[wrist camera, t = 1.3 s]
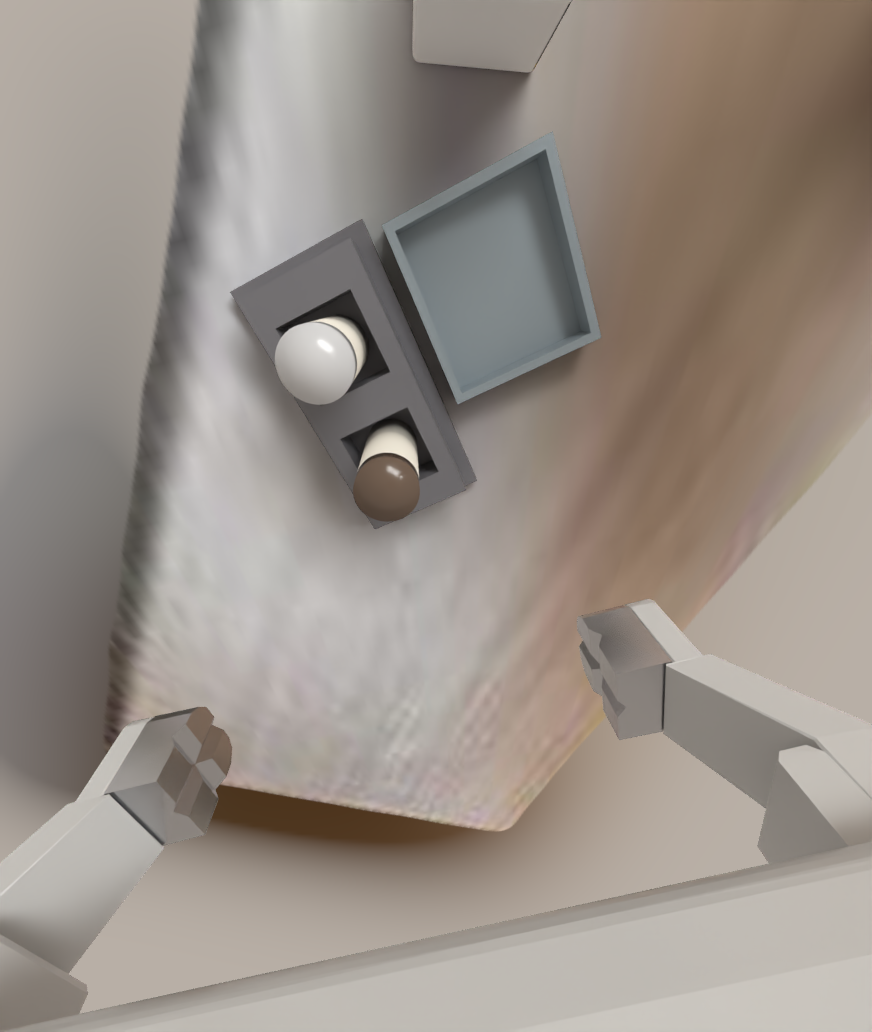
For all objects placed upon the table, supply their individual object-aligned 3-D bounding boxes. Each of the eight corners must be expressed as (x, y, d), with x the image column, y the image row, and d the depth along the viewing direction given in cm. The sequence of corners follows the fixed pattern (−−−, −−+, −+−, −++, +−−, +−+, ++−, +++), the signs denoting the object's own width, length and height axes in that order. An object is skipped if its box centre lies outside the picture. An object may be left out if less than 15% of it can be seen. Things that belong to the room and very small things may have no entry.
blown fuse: (403, 410, 32) (401, 450, 24) (425, 454, 34) (430, 506, 26) (357, 431, 33) (340, 478, 25) (381, 474, 35) (372, 531, 26)
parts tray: (540, 145, 26) (552, 131, 24) (588, 334, 31) (601, 337, 29) (383, 230, 28) (381, 225, 26) (454, 397, 33) (457, 404, 31)
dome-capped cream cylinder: (351, 304, 29) (328, 308, 20) (378, 360, 31) (367, 385, 22) (301, 331, 29) (258, 345, 21) (331, 384, 31) (302, 416, 23)
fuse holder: (235, 292, 29) (211, 291, 25) (363, 221, 27) (356, 210, 24) (373, 520, 38) (369, 543, 34) (475, 476, 36) (482, 495, 33)
